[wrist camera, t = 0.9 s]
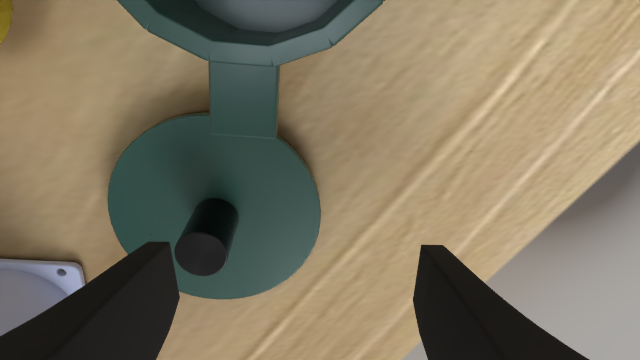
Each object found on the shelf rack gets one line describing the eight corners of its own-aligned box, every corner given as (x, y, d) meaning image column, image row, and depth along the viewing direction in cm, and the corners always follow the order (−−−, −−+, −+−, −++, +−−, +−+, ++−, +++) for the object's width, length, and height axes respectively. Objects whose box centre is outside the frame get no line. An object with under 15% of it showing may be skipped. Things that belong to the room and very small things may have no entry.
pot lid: (128, 283, 24) (90, 343, 20) (103, 100, 19) (47, 127, 15) (311, 291, 25) (313, 350, 20) (328, 117, 20) (335, 147, 16)
